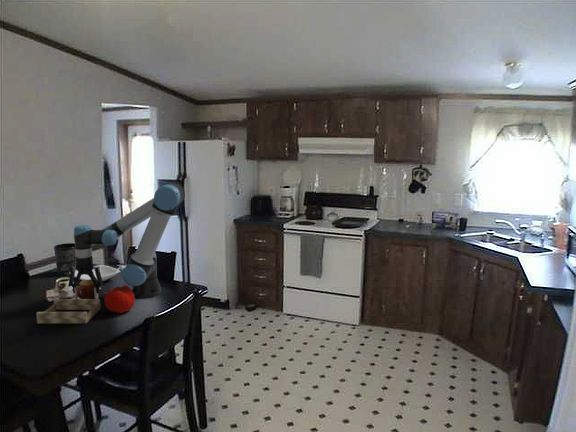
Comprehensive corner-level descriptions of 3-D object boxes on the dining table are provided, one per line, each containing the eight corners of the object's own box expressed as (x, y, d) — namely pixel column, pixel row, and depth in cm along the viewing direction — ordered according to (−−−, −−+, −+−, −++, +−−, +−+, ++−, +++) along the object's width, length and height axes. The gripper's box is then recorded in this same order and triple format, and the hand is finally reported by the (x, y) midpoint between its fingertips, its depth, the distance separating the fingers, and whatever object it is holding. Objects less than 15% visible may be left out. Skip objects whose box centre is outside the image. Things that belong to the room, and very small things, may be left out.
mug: (87, 297, 212) (86, 278, 210) (102, 299, 211) (101, 280, 209) (71, 306, 201) (70, 286, 199) (87, 308, 199) (85, 288, 197)
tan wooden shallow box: (100, 308, 199) (100, 299, 198) (86, 323, 182) (85, 312, 182) (55, 308, 197) (54, 299, 196) (37, 323, 181) (36, 313, 180)
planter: (83, 273, 250) (81, 245, 247) (60, 278, 241) (58, 249, 238) (75, 268, 259) (73, 242, 256) (53, 273, 250) (50, 245, 246)
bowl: (102, 272, 253) (102, 263, 252) (124, 280, 240) (123, 271, 239) (66, 281, 235) (65, 272, 234) (87, 290, 222) (86, 280, 221)
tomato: (122, 318, 189) (121, 294, 187) (98, 313, 193) (97, 289, 191) (141, 307, 201) (140, 285, 199) (119, 303, 206) (117, 281, 204)
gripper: (109, 254, 206) (111, 296, 210) (65, 254, 204) (68, 296, 208) (103, 258, 198) (106, 301, 202) (57, 258, 197) (61, 302, 201)
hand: (87, 299), depth 205 cm, fingers open, 9 cm apart
